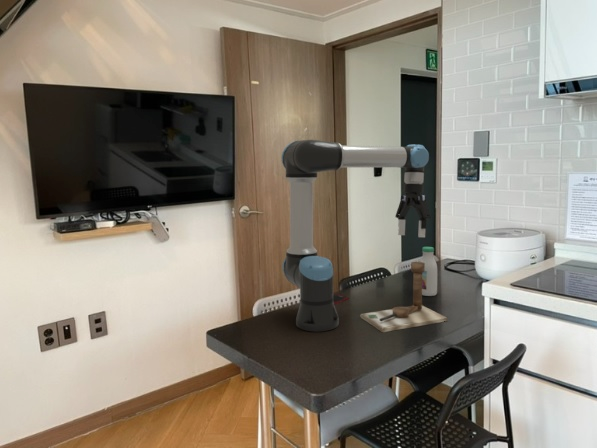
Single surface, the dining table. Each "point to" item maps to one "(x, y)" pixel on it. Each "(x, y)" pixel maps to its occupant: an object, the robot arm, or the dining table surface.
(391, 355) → the dining table surface
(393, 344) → the dining table surface
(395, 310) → the wooden l-shaped rod
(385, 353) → the dining table surface
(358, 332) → the dining table surface
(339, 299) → the cell phone
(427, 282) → the milk bottle
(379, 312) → the beige flat rectangular board
